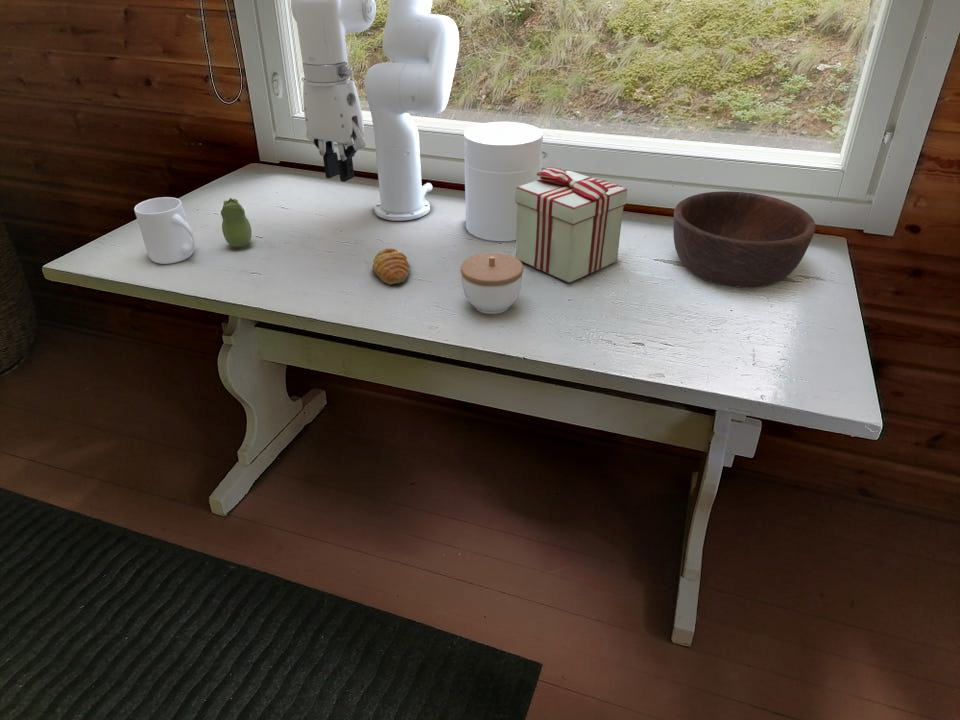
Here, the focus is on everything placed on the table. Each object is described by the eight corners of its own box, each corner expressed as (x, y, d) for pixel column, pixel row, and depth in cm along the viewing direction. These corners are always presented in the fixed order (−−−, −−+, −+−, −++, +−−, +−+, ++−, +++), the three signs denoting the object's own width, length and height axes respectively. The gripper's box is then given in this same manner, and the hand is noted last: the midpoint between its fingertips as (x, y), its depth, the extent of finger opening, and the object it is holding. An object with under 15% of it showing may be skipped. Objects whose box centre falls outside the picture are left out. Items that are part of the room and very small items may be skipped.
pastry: (415, 283, 129) (414, 265, 127) (380, 289, 128) (378, 271, 126) (404, 262, 137) (403, 244, 135) (370, 267, 135) (368, 249, 133)
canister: (554, 225, 151) (559, 132, 140) (503, 248, 142) (504, 150, 130) (501, 205, 160) (502, 117, 149) (450, 225, 151) (447, 133, 140)
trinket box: (459, 292, 127) (458, 245, 121) (518, 289, 127) (519, 242, 122) (463, 322, 118) (462, 273, 112) (526, 319, 118) (527, 270, 113)
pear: (253, 239, 147) (244, 193, 141) (255, 249, 142) (245, 203, 137) (226, 242, 145) (215, 197, 140) (226, 253, 141) (215, 206, 135)
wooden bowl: (658, 283, 128) (666, 232, 123) (675, 231, 148) (682, 184, 142) (803, 305, 121) (818, 252, 115) (801, 247, 141) (814, 199, 135)
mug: (182, 272, 134) (168, 220, 128) (140, 259, 139) (124, 209, 133) (216, 254, 141) (203, 204, 134) (174, 243, 145) (160, 194, 139)
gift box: (630, 254, 139) (640, 170, 129) (574, 287, 128) (581, 198, 118) (562, 231, 148) (567, 151, 138) (505, 260, 137) (506, 175, 127)
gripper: (378, 73, 117) (387, 179, 127) (306, 63, 124) (320, 164, 134) (349, 82, 111) (361, 192, 122) (275, 71, 118) (293, 176, 129)
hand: (340, 177), depth 128 cm, fingers closed
